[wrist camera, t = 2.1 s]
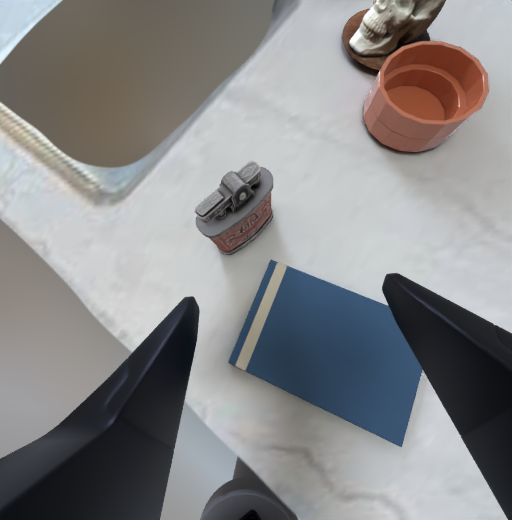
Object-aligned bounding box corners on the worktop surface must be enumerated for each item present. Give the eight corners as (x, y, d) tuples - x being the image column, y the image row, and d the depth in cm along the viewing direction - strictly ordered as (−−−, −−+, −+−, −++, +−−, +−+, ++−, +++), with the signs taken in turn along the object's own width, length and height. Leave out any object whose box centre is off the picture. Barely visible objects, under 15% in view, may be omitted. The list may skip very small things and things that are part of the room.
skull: (367, 85, 27) (371, -44, 21) (331, 92, 35) (327, 2, 29) (459, 52, 26) (491, -90, 20) (401, 68, 35) (411, -29, 29)
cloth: (398, 443, 20) (402, 447, 19) (229, 361, 22) (227, 362, 22) (430, 323, 22) (435, 324, 21) (270, 260, 24) (270, 259, 24)
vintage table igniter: (260, 199, 26) (253, 136, 16) (279, 217, 25) (283, 164, 15) (211, 241, 25) (173, 203, 15) (229, 261, 25) (201, 235, 15)
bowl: (405, 170, 25) (434, 143, 21) (344, 113, 27) (357, 78, 23) (471, 120, 26) (512, 83, 22) (406, 68, 28) (431, 25, 24)
